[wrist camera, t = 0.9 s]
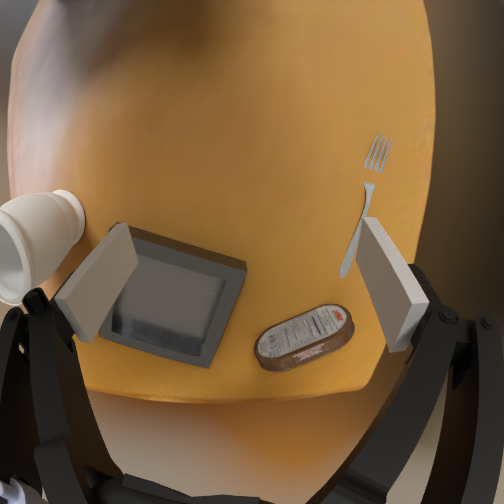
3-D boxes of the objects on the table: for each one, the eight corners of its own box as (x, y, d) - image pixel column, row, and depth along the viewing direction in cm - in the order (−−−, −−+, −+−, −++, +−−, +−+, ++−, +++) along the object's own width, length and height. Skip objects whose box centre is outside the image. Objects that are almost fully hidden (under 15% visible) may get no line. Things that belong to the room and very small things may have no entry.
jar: (72, 265, 34) (18, 323, 20) (29, 222, 31) (-34, 262, 17) (105, 214, 32) (43, 260, 18) (57, 166, 28) (-17, 188, 15)
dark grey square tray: (117, 222, 32) (109, 229, 30) (245, 261, 36) (247, 271, 33) (105, 325, 38) (99, 336, 36) (209, 355, 42) (208, 368, 39)
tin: (256, 344, 42) (263, 383, 34) (248, 331, 41) (254, 370, 33) (343, 307, 41) (364, 340, 33) (338, 292, 40) (361, 325, 32)
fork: (326, 291, 40) (330, 297, 38) (369, 131, 31) (376, 131, 30) (344, 293, 40) (348, 299, 39) (388, 138, 32) (395, 139, 30)
